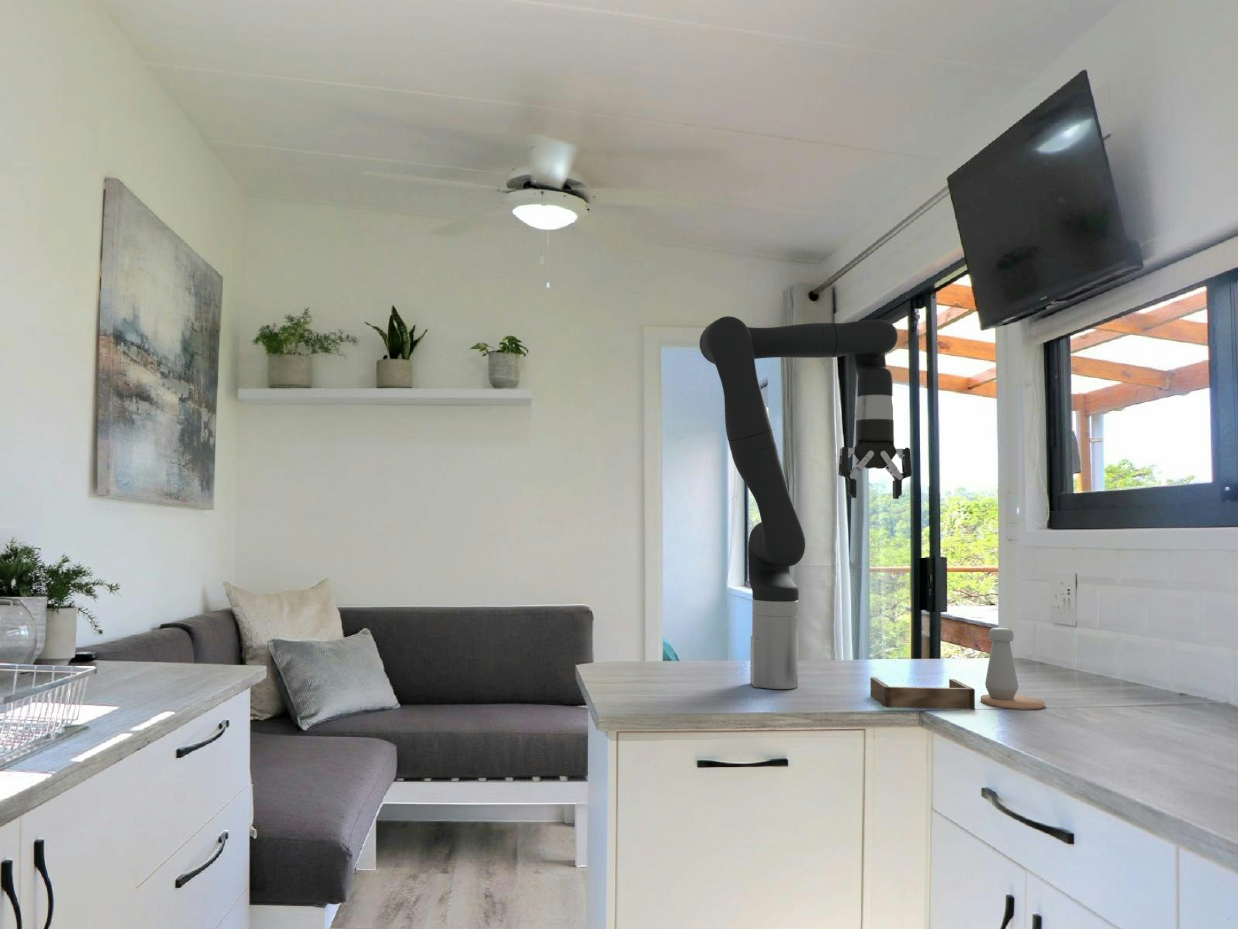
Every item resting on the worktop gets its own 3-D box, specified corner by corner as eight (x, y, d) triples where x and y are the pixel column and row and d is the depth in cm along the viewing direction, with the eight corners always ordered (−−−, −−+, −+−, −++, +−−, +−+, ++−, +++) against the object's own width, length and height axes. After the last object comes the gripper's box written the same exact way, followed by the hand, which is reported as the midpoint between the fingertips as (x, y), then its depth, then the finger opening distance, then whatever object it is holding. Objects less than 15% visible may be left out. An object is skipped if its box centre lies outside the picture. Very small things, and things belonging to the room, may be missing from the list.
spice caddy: (885, 707, 171) (885, 687, 172) (870, 696, 182) (870, 677, 183) (974, 709, 171) (974, 689, 171) (954, 697, 182) (954, 679, 182)
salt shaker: (1003, 694, 181) (1003, 626, 182) (1025, 700, 176) (1025, 629, 177) (978, 696, 180) (978, 626, 180) (999, 701, 174) (999, 630, 175)
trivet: (993, 708, 171) (993, 704, 171) (972, 697, 182) (972, 693, 182) (1055, 710, 171) (1055, 705, 171) (1030, 698, 182) (1029, 694, 182)
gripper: (843, 416, 191) (843, 497, 190) (915, 417, 191) (915, 498, 190) (836, 420, 198) (835, 498, 197) (904, 421, 198) (904, 499, 197)
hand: (874, 498), depth 193 cm, fingers open, 8 cm apart
